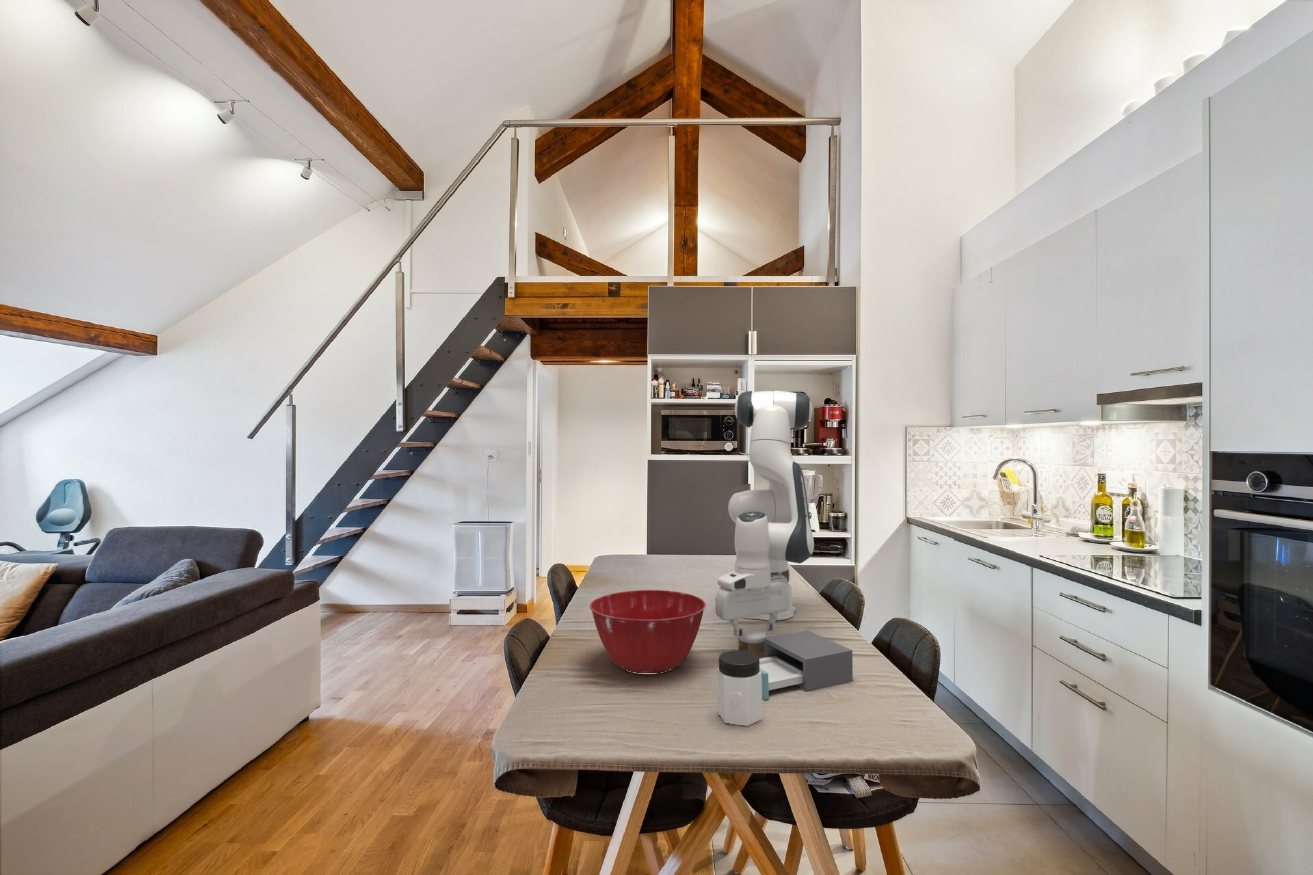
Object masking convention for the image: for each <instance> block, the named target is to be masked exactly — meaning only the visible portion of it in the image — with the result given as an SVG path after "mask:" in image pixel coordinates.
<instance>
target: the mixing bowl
mask: <svg viewBox="0 0 1313 875" xmlns="http://www.w3.org/2000/svg"><path fill="white" fill-rule="evenodd" d="M706 604H707V603H706V602H705V600H704V599H702V598H701V597H699V596H697V595H693V594H690V593H687V592H679V591H676V590H674V591H672V590H662V589H640V590H639V589H638V590H626V591H625V590H624V591H619V592H612V593H609V594H606V595H603V596H599V597H597V598H595V599H594V600H592V601H591V602H590V603H589V609H590V610H591V612H592V617H593V620H594V624H595V627H596V630H597V633H598V637H599V638H600V641H601V643H602V645H603V647H604V649H605V651H606V653H607V655H608V656H609V658H610V660H611V661H612V662H613V663H614V664H615V665H616V666H618V667H619V668H621V669H622V668H623V669H622V670H624V669H625V670H628V671H631V672H636V673H661V672H665V671H668V670H670V669H672V670H674V669H675V668H676V667H678V666H679V665H680V664H682V663H683V662H684V661H685V660H686V658H687V657H688V655H689V654H690V651H691V650H692V648H693V646H694V642H695V641H696V638H697V635H698V633H699V630H700V626H701V624H702V623H701V622H702V620H703V616H704V615H703V614H704V610H705V609H706V606H707V605H706ZM673 668H674V669H673ZM625 670H624V671H625ZM668 672H669V671H668ZM665 673H666V672H665Z"/></svg>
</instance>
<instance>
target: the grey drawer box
mask: <svg viewBox="0 0 1313 875" xmlns="http://www.w3.org/2000/svg"><path fill="white" fill-rule="evenodd" d="M764 651H765V658H766V657H771V656H776V657H778V658H780V659H781V660H783V661H785V662H787V663H789V664H791V665H792V666H794V667H796V668H798V669H800V670H802V671H803V683H800V684H796V685H795V686H797V688H800V689H801V690H804V691H805V692H809V691H815V690H819V689H823V688H827V687H832V686H833V687H834V686H836V685H837V686H838V685H841V684H845V683H846V684H847V683H850V682H853V676H854V675H853V670H854V669H853V649H850V648H848V647H846V646H843V645H841V644H839V643H837V642H835V641H832V640H830V639H828V638H826V637H823V636H822V635H818V634H816V633H814V632H812V631H810V630H804V631H803V630H802V631H797V632H792V633H786V634H781V635H774V636H769V637H766V638H764Z"/></svg>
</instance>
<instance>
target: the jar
mask: <svg viewBox="0 0 1313 875" xmlns="http://www.w3.org/2000/svg"><path fill="white" fill-rule="evenodd" d="M716 679H717V680H716V681H717V683H716V684H717V688H716V689H717V691H716V692H717V714H718V716H719V715H720V716H721V717H720V716H719V717H720V718H721V720H722V721H723V723H724V722H725V723H732V724H738V725H737V726H740V725H745V726H744V727H749V725H750V726H751V724H752V725H753V724H755V723H757V722H759V721H761V720H763V698H762V673H761V672H760V664H759V657H758V656H757V655H756V654H754V653H752V652H748V651H740V650H739V649H738V650H726V651H725V652H721V653H720V654H719V655H718V667H717V670H716ZM725 723H724V724H725ZM732 724H731V725H732Z"/></svg>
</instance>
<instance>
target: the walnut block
mask: <svg viewBox="0 0 1313 875" xmlns="http://www.w3.org/2000/svg"><path fill="white" fill-rule="evenodd" d="M738 650H740V651H748V652H752V653H754V654H756V655H757V656H758V657H759V659H761V658H765V651H764V642H762V643H746V642H742V641H741V640H740V639H739V638H738Z"/></svg>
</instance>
